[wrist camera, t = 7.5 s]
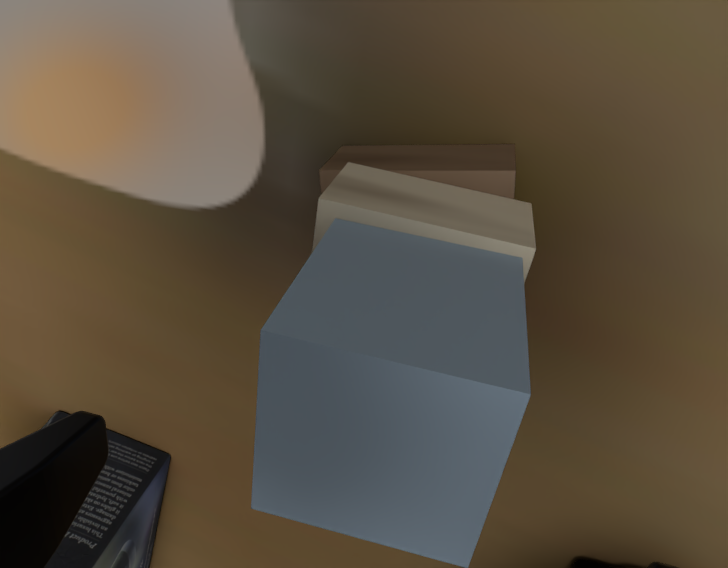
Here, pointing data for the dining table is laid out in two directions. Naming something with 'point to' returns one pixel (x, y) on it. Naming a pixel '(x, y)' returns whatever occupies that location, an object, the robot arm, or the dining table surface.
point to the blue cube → (392, 390)
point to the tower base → (435, 164)
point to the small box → (117, 509)
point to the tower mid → (428, 211)
